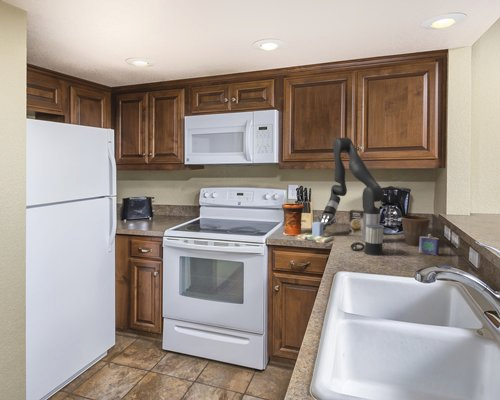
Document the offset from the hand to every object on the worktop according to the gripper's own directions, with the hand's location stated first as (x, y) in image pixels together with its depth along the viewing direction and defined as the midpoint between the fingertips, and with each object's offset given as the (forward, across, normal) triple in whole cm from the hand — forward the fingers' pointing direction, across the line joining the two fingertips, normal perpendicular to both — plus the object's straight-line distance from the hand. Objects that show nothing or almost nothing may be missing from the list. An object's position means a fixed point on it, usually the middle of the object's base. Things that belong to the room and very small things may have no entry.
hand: (322, 229), depth 222 cm
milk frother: (+17, +36, -11) cm, 41 cm away
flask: (+7, +63, 0) cm, 63 cm away
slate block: (+6, 0, -3) cm, 7 cm away
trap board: (+10, 0, -4) cm, 11 cm away
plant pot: (-6, +52, +12) cm, 54 cm away
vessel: (+6, -20, +1) cm, 21 cm away
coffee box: (-11, +15, +18) cm, 26 cm away
